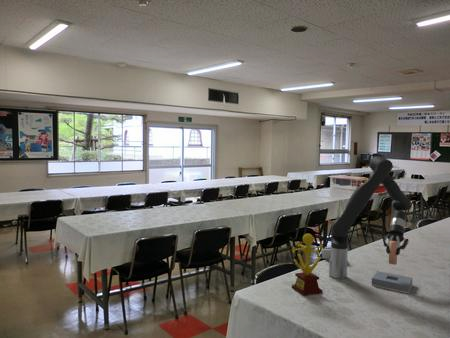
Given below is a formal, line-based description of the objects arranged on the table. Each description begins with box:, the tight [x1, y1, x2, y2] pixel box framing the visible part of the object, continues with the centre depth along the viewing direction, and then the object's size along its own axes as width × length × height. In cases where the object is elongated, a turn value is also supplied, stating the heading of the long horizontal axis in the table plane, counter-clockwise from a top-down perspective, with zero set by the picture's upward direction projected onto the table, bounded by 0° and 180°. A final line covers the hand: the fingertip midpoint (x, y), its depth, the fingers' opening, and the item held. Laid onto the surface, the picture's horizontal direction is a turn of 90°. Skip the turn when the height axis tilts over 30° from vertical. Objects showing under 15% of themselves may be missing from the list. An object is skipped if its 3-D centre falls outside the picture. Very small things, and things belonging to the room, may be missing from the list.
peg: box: [388, 240, 398, 266], centre depth 192 cm, size 4×4×12 cm
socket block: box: [371, 270, 413, 294], centre depth 193 cm, size 18×14×4 cm
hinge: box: [321, 246, 349, 263], centre depth 235 cm, size 17×5×10 cm, turn 45°
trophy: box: [291, 233, 324, 297], centre depth 183 cm, size 14×16×30 cm
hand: (392, 253), depth 190 cm, fingers closed on peg, 4 cm apart
